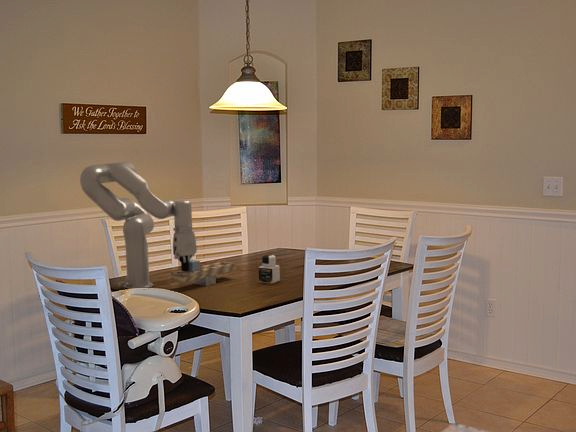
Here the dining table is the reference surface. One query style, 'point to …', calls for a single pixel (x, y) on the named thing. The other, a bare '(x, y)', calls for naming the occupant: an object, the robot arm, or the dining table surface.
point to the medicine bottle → (269, 270)
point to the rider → (193, 266)
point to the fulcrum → (206, 280)
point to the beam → (204, 271)
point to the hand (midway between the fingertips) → (185, 270)
